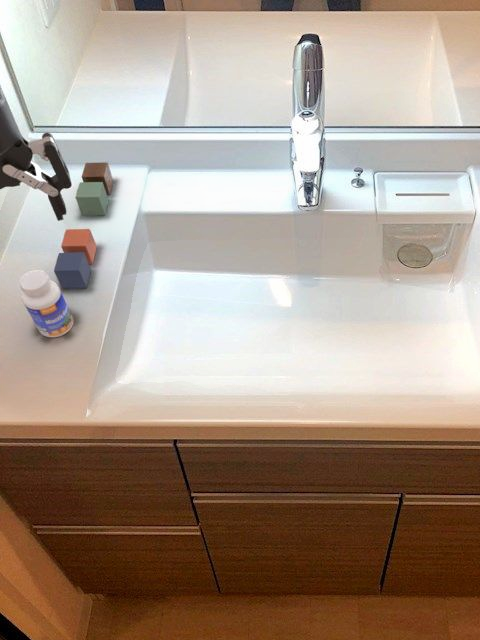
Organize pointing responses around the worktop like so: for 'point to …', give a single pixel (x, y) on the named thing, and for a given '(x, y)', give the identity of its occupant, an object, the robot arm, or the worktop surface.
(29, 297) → the pill bottle
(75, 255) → the block
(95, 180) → the block
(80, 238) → the block
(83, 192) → the block
